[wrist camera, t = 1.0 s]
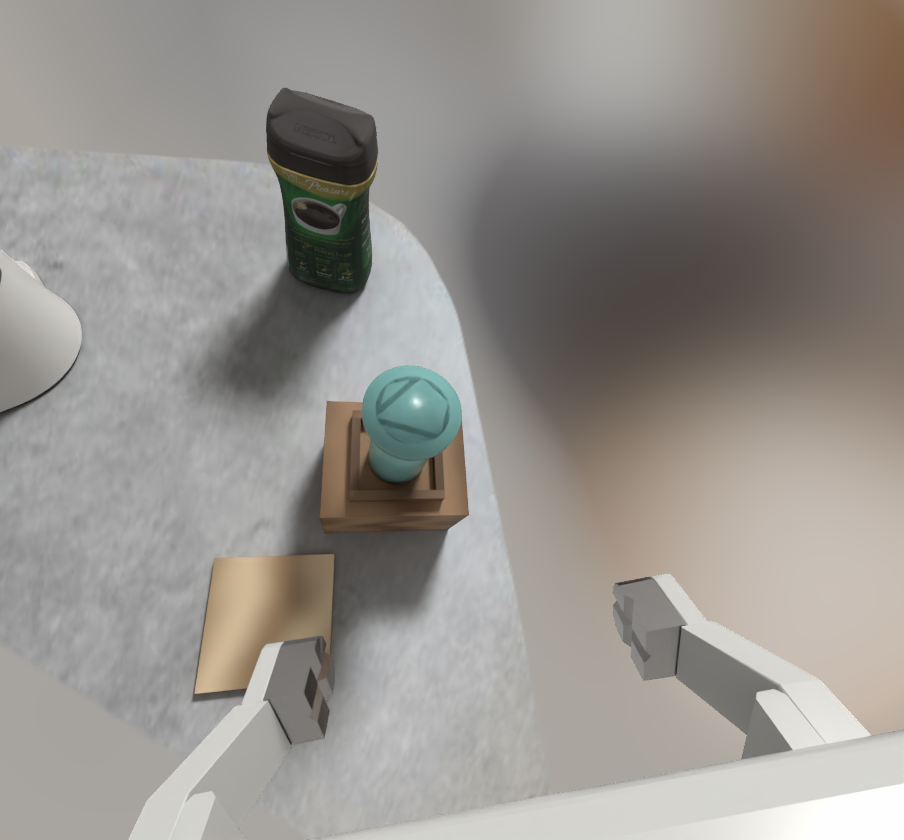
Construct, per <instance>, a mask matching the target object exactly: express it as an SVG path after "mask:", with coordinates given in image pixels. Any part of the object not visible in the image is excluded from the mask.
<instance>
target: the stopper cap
mask: <svg viewBox="0 0 904 840" xmlns="http://www.w3.org/2000/svg"><path fill="white" fill-rule="evenodd" d="M461 419H462V409H461V404H460V400H459V398H458V396H457V393H456V392H455V390H454V389H453V387H452V386H451V385H450V384H449V383H448V382H447V380H445V379H444V378H443V377H442V376H440V375H439V374H437V373H435V372H433V371H431V370H429V369H426V368H423V367H419V366H399V367H395V368H392V369H389V370H387V371H385V372H383V373H382V374H380V375H379V376H378V377H376V378H375V379H374V380H373V381H372V383H371V384H370V385H369V387H368V389H367V390H366V393H365V395H364V399H363V406H362V420H363V425H364V428H365V431H366V432H367V434H368V436H369V438H370V446H369V453H368V461H369V465H370V468H371V470H372V472H373V473H374V474H375V475H376V477H378V478H379V479H380V480H382V481H384V482H386V483H389V484H393V485H400V484H405V483H408V482H410V481H412V480H413V479H415V478H416V477H417V476H418V475H419V474H420V472H421V470H422V469H423V467H424V465H425V463H426V462H427V460H428V459H429V458H432V457H434V456H436V455H438V454H440V453H441V452H443V451H444V450H445V449H446V448H447V447H448V446H449V445H450V444H451V442H452V441H453V439H454V438H455V436H456V435H457V433H458V430H459V428H460V425H461Z"/></svg>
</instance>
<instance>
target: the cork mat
mask: <svg viewBox="0 0 904 840" xmlns="http://www.w3.org/2000/svg"><path fill="white" fill-rule="evenodd" d="M334 557H335V554H316V555H291V556H265V557H240V558H215V559H214V566H213V573H212V579H211V586H210V593H209V599H208V606H207V613H206V619H205V626H204V633H203V639H202V646H201V653H200V659H199V666H198V673H197V679H196V686H195V693H194V694H199V693H208V692H217V691H227V690H236V689H245V688H247V687H248V685H249V682H250V679H251V677H252V674H253V671H254V669H255V666H256V663H257V661H258V658H259V655H260V653H261V650H262V649H263V648H264V646H265V645H266V644H271V643H277V642H284V641H289V640H296V639H303V638H309V637H316V636H323V638H324V640H325V642H326V649H325V652H326V653H328V654H329V655H330V645H331V623H332V601H333V579H334Z"/></svg>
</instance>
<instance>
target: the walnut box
mask: <svg viewBox="0 0 904 840" xmlns="http://www.w3.org/2000/svg"><path fill="white" fill-rule="evenodd" d="M362 406H363V403H359V402H334V401H327V406H326V423H325V439H324V456H323V472H322V489H321V505H320V520H321V523H322V526H323V529H324V532H325V533H334V532H369V531H404V530H439V529H449V528H451V527H452V526H454V525H455V524H456V523H458V522H459V521H461V520H462V519H464V518H465V517H466V516H468V515H469V511H468V498H467V484H466V471H465V457H464V444H463V430H462V419H461V425H460V428H459V430H458V433H457V435H456V436H455V438H454V439H453V441H452V442H451V444H450V445H449V446H448V447H447V448H446V449H445V450H444V451H443V452H441V453H440V454H438V455H436V456H434V457H432V458H429V459H428V460H427V462H426V463H425V465H424V467H423V469H422V470H421V472H420V474H419V475H418V476H417V477H416V478H415V479H413V480H412V481H410V482H408V483H405V484H400V485H393V484H389V483H386V482H384V481H382V480H380V479H379V478H378V477H376V475H375V474H374V473H373V472H372V470H371V468H370V465H369V461H368V453H369V446H370V438H369V436H368V434H367V432H366V431H365V428H364V425H363V420H362Z"/></svg>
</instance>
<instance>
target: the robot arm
mask: <svg viewBox="0 0 904 840" xmlns="http://www.w3.org/2000/svg"><path fill="white" fill-rule="evenodd" d="M81 341H82V330H81V325H80V322H79V319H78V317H77V315H76V313H75V312H74V310H73V309H72V308H71V307H70V306H69V305H68V304H67V303H66V302H65V301H64V300H63V299H61V298H60V297H58V296H57V295H55V294H54V293H52V292H51V291H49V290H48V289H47V288H45V287H44V286H43V284H42V282H41V280H40V278H39V276H38V275H37V273H36V272H35V271H34V270H33V269H32V268H30V267H29V266H28V265H27V264H25V263H24V262H21V261H13V260H12V259H11V258H10V257H9V256H8V255H6V254H5V253H4V252H3V251H2V250H0V412H2V411H5V410H7V409H10V408H12V407H15V406H17V405H20V404H22V403H24V402H27V401H29V400H31V399H33V398H35V397H36V396H38V395H40V394H41V393H43V392H44V391H46V390H47V389H49V388H50V387H51V386H53V385H54V384H55V383H56V382H57V381H58V380H60V379H61V378H62V377H63V376H64V374H65V373H66V372H67V371H68V370H69V368H70V367H71V366H72V364H73V362H74V361H75V359H76V357H77V355H78V352H79V350H80V346H81ZM613 594H614V596H615V598H616V599H617V601H616V602H615V603H614V605H613V616H614V620H615V624H616V627H617V630H618V632H619V635H620V637H621V639H622V641H623V642H624V643H626V644H627V645H629V646H630V647H631V658H632V660H633V662H634V664H635V666H636V668H637V669H638V671H639V673H640V675H641V677H642V679H643V680H652V679H658V678H665V677H671V676H676V678H677V679H678V680H680V681H681V682H682V683H683V684H685V685H686V686H687V687H688V688H690V689H691V690H692V691H693V692H694V693H696V694H697V695H698V696H700V697H701V698H702V699H703V700H704V701H706V702H707V703H708V704H709V705H710V706H712V707H713V708H714V709H715V710H717V711H718V712H719V713H720V714H722V715H723V716H724V717H725V718H727V719H728V720H729V721H730V722H732V723H733V724H734V725H735V726H737V727H738V728H739V729H740V730H741V731H743V732H744V733H745V734H746V735H747V737H746V741H745V746H744V750H743V754H742V759H741V760H736V761H731V762H726V763H720V764H715V765H709V766H704V767H699V768H693V769H687V770H682V771H677V772H671V773H666V774H660V775H655V776H650V777H644V778H639V779H634V780H628V781H623V782H617V783H611V784H606V785H600V786H595V787H590V788H584V789H579V790H574V791H568V792H562V793H557V794H551V795H546V796H540V797H535V798H530V799H524V800H519V801H513V802H508V803H502V804H497V805H492V806H486V807H481V808H475V809H470V810H465V811H459V812H454V813H448V814H443V815H438V816H432V817H427V818H421V819H416V820H411V821H405V822H400V823H394V824H389V825H383V826H378V827H373V828H367V829H362V830H356V831H351V832H345V833H340V834H335V835H329V836H324V837H318V838H313V839H307V840H904V730H899V731H893V732H888V733H883V734H877V735H872V736H871V735H870V734H869V733H868V732H867V731H866V729H865V728H864V727H863V726H862V725H861V724H860V723H859V722H858V721H857V720H856V719H855V717H853V716H852V714H851V713H850V712H849V711H848V710H847V709H846V708H845V707H844V706H843V705H842V703H841V702H840V701H839V700H838V699H837V698H836V697H835V696H834V695H833V694H832V692H831V691H830V690H829V689H828V688H827V687H826V686H825V685H824V684H823V683H822V682H821V681H820V679H818V678H816V677H814V676H812V675H811V674H809V673H807V672H805V671H803V670H802V669H800V668H798V667H796V666H794V665H792V664H791V663H789V662H787V661H785V660H783V659H782V658H780V657H778V656H776V655H774V654H773V653H771V652H769V651H767V650H765V649H763V648H761V647H760V646H758V645H756V644H754V643H752V642H751V641H749V640H747V639H745V638H743V637H742V636H740V635H738V634H736V633H734V632H733V631H731V630H729V629H727V628H725V627H723V626H722V625H720V624H718V623H716V622H714V621H709V622H708V621H707V620H706V619H705V618H704V616H703V615H702V614H701V613H700V611H699V610H698V608H697V607H696V606H695V605H694V603H693V602H692V601H691V599H690V598H689V597H688V596H687V594H686V593H685V592H684V590H683V589H682V588H681V587H680V585H679V584H678V583H677V581H676V580H675V579H674V578H673V576H671V575H670V574H663V575H658V576H652V577H645V578H640V579H635V580H629V581H624V582H619V583H615V584H614V586H613ZM325 649H326V642H325V640H324V638H323V636H316V637H309V638H303V639H296V640H289V641H284V642H277V643H271V644H266V645H265V646H264V648H263V649H262V650H261V653H260V655H259V658H258V661H257V663H256V666H255V669H254V671H253V674H252V677H251V679H250V682H249V685H248V687H247V690H246V693H245V695H244V698H243V701H242V703H241V705H239V706H235V707H234V708H233V709H232V710H231V711H230V712H229V713H228V715H227V716H226V717H225V718H224V719H223V720H222V721H221V722H220V723H219V724H218V725H217V726H216V727H215V728H214V730H213V731H212V732H211V733H210V734H209V735H208V736H207V737H206V738H205V739H204V740H203V741H202V742H201V743H200V745H199V746H198V747H197V748H196V749H195V750H194V751H193V752H192V753H191V754H190V755H189V756H188V757H187V758H186V760H185V761H184V762H183V763H182V764H181V765H180V766H179V767H178V768H177V770H175V771H174V772H173V773H172V775H171V776H170V777H169V778H168V779H167V780H166V781H165V782H164V783H163V784H162V785H161V786H160V787H159V788H158V790H157V791H156V792H155V793H154V794H153V795H152V796H151V797H150V798H149V799H148V800H147V802H146V804H145V806H144V808H143V810H142V812H141V814H140V816H139V819H138V821H137V823H136V825H135V827H134V829H133V831H132V833H131V835H130V837H129V840H246V839H245V837H244V836H243V834H242V833H241V832H240V830H239V828H240V826H241V825H242V824H243V822H244V821H245V819H246V817H247V816H248V814H249V813H250V811H251V810H252V808H253V807H254V805H255V804H256V802H257V800H258V799H259V797H260V796H261V794H262V793H263V791H264V790H265V788H266V787H267V785H268V783H269V782H270V780H271V779H272V777H273V776H274V774H275V773H276V771H277V770H278V768H279V766H280V765H281V763H282V762H283V760H284V759H285V757H286V756H287V754H288V753H289V751H290V749H291V748H292V746H291V745H295V744H300V743H304V742H309V741H314V740H318V739H323V738H325V733H326V728H327V722H328V717H329V708H328V706H327V703H326V702H327V700H328V699H329V698H330V696H331V695H332V694H333V689H334V683H335V670H334V664H333V660H332V657H331V655H329V654H328V653H326V652H325Z"/></svg>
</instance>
